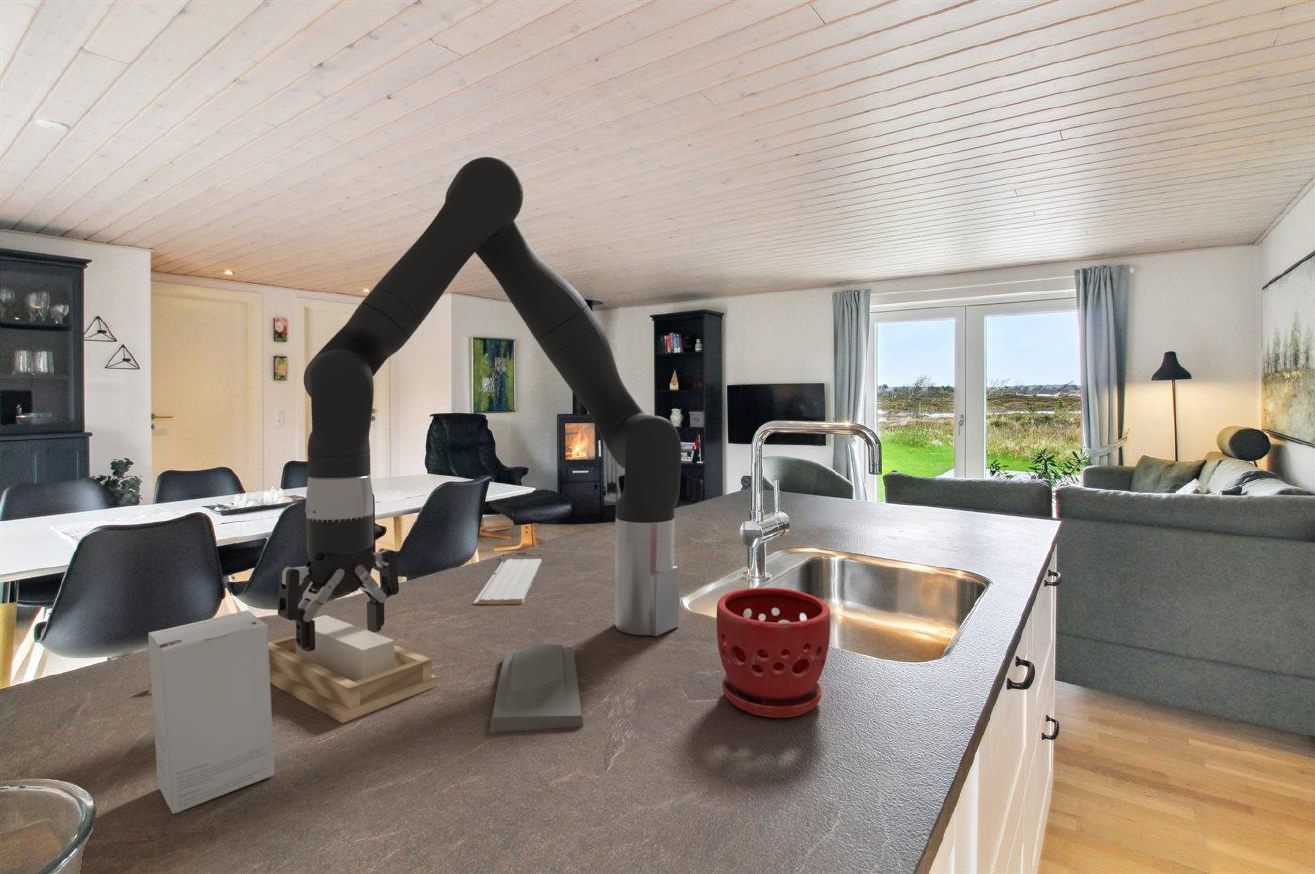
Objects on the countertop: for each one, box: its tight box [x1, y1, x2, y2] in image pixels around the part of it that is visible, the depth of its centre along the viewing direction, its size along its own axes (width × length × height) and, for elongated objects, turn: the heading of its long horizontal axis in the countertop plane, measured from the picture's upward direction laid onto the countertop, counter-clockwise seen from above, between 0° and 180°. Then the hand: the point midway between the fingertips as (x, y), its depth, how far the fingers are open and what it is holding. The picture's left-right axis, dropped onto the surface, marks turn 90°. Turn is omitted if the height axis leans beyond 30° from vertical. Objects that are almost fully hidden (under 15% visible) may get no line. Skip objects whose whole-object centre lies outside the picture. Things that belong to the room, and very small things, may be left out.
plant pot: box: [716, 587, 831, 719], centre depth 78 cm, size 13×13×12 cm
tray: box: [268, 634, 438, 724], centre depth 83 cm, size 22×12×4 cm, turn 54°
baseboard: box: [472, 552, 542, 605], centre depth 130 cm, size 30×3×10 cm
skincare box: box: [147, 609, 275, 815], centre depth 60 cm, size 8×6×15 cm
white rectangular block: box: [294, 614, 395, 682], centre depth 83 cm, size 16×4×5 cm, turn 54°
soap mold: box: [488, 643, 584, 733], centre depth 81 cm, size 10×20×4 cm, turn 9°
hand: (342, 639), depth 83 cm, fingers open, 8 cm apart
